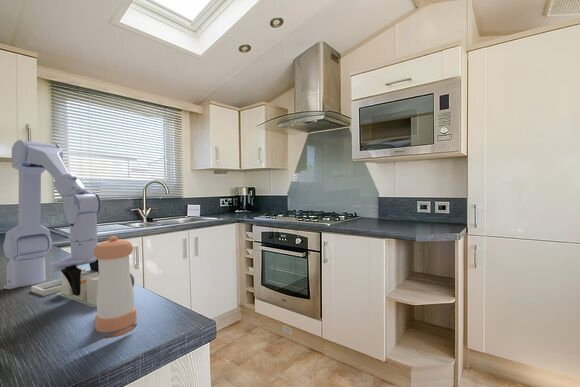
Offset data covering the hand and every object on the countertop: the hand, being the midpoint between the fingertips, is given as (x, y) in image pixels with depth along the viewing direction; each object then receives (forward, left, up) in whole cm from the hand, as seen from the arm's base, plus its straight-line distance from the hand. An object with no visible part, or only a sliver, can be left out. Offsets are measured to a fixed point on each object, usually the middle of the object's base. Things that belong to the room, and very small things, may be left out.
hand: (86, 291), depth 75 cm
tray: (-14, +1, -2) cm, 15 cm away
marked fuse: (0, 0, -1) cm, 1 cm away
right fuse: (+6, -1, -1) cm, 7 cm away
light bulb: (+16, -3, -2) cm, 16 cm away
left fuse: (-6, +1, -1) cm, 7 cm away
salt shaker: (+22, -9, -2) cm, 23 cm away
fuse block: (0, 0, -2) cm, 2 cm away
